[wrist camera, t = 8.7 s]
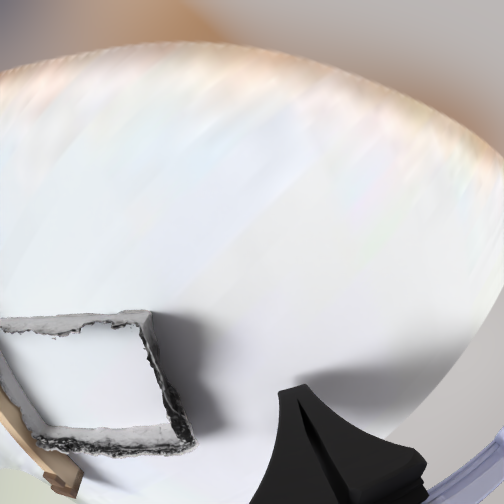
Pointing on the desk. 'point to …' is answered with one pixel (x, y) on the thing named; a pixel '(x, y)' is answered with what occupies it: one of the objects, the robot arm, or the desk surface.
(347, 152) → the desk surface
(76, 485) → the ledge
